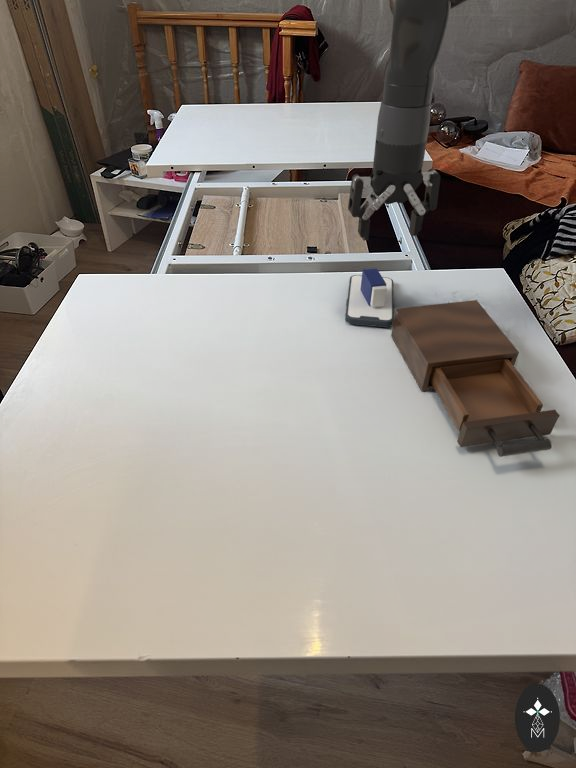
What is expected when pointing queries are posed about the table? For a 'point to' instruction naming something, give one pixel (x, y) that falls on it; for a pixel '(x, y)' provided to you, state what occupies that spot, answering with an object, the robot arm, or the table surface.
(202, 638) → the table surface
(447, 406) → the drawer
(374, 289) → the eraser
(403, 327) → the cabinet
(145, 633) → the table surface
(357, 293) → the phone case
